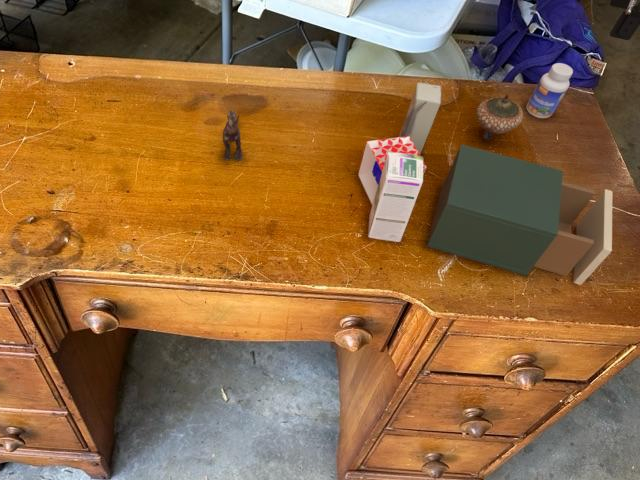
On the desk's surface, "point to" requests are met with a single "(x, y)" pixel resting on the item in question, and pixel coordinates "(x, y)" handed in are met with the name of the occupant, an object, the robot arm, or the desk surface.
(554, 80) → the pill bottle
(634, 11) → the robot arm
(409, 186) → the syrup box
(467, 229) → the cabinet
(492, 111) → the acorn
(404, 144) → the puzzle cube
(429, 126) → the box
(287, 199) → the desk surface
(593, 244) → the drawer
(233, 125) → the dinosaur model
